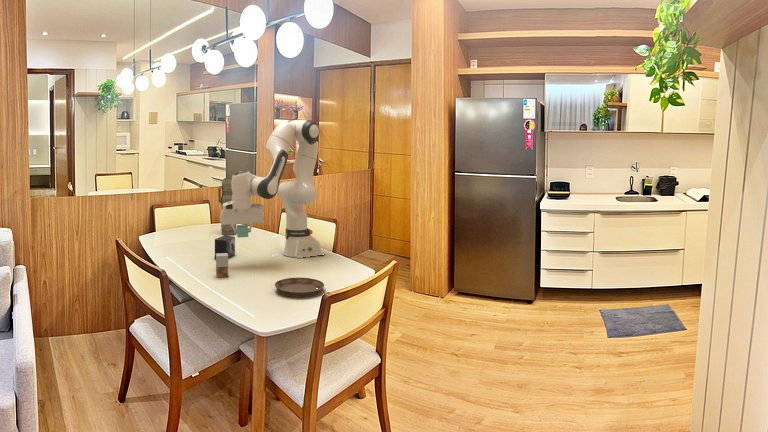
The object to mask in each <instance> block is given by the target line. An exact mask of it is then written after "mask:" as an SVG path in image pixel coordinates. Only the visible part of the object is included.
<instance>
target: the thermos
mask: <svg viewBox="0 0 768 432" xmlns="http://www.w3.org/2000/svg"><path fill="white" fill-rule="evenodd" d="M231 183H232V177H225V178H223V179H222V181H221V186H219V187H218V190H217V193H218V203H220V206H221V210H222V209H223V204H224V203H226V202H229V201H232V195H233V193H232V186H231ZM221 192H222V193H221ZM220 224H221V223H220ZM220 227H221V229H220V230H221V235H222V236H237V233H234V229H233V228H232V226H231V224H226V225H222V224H221V225H220ZM234 228H235V229H237V224H235V226H234Z"/></svg>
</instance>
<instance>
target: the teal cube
mask: <svg viewBox="0 0 768 432" xmlns="http://www.w3.org/2000/svg"><path fill="white" fill-rule="evenodd" d="M248 228H249V226H248V224H236V229H237V233H236V237H237V238H238V239H239V238H249V232H248Z"/></svg>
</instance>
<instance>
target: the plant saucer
mask: <svg viewBox="0 0 768 432" xmlns="http://www.w3.org/2000/svg"><path fill="white" fill-rule="evenodd" d="M274 287H275V289H276V290H277V291H278V292H279V293H280V294H282V295H283V296H287V297H291V298H306V297H307V296H308V297H313V296H315V294H316V295H318V294H319V293H320V292H321V291H323V289H324V287H325V283H324V282H322V281H321V280H319V279H315V278H310V277H287V278H282V279H280V280H277V281H276V282H275V283H274ZM316 288H318V289H316ZM317 293H318V294H317ZM312 295H313V296H312ZM308 297H307V298H308Z"/></svg>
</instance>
